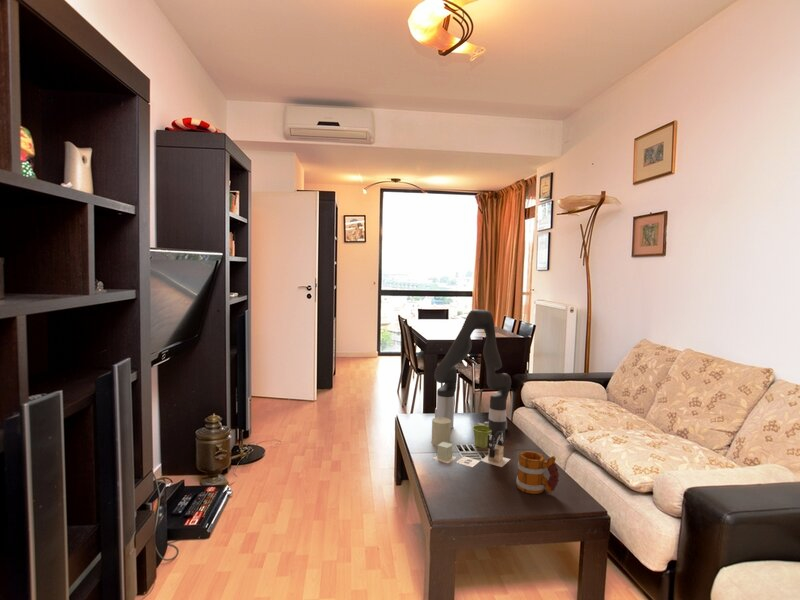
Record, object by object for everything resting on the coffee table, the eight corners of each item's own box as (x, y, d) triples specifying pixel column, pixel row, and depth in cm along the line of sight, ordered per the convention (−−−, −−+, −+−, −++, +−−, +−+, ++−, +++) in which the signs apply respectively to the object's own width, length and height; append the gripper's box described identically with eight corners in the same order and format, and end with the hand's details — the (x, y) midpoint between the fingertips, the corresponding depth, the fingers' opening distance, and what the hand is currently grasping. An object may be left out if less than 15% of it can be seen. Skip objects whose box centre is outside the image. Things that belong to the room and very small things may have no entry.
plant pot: (490, 442, 218) (491, 425, 218) (492, 450, 209) (493, 432, 208) (471, 441, 219) (472, 424, 219) (472, 449, 210) (473, 431, 209)
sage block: (437, 458, 198) (437, 445, 197) (442, 454, 202) (443, 441, 202) (447, 461, 195) (447, 447, 195) (452, 457, 199) (452, 444, 199)
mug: (522, 478, 182) (523, 442, 181) (562, 491, 171) (564, 453, 170) (510, 487, 173) (512, 450, 172) (552, 502, 163) (554, 462, 162)
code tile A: (455, 462, 194) (455, 462, 194) (463, 456, 201) (463, 456, 201) (472, 467, 190) (472, 467, 190) (480, 461, 196) (480, 460, 196)
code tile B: (432, 459, 197) (432, 458, 197) (441, 453, 204) (441, 452, 204) (448, 463, 193) (448, 463, 193) (456, 457, 200) (456, 457, 200)
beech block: (488, 460, 197) (488, 447, 197) (492, 456, 201) (493, 443, 201) (498, 463, 194) (499, 449, 194) (503, 459, 198) (503, 446, 198)
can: (446, 439, 221) (447, 415, 220) (453, 446, 212) (454, 421, 212) (428, 440, 219) (429, 416, 218) (434, 447, 210) (435, 423, 209)
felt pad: (480, 461, 196) (480, 460, 196) (489, 454, 205) (489, 453, 204) (501, 467, 191) (501, 466, 191) (510, 460, 199) (510, 459, 199)
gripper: (495, 412, 204) (494, 446, 205) (482, 420, 193) (481, 457, 194) (511, 415, 200) (509, 451, 201) (499, 424, 188) (497, 461, 189)
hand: (495, 454), depth 197 cm, fingers open, 8 cm apart
